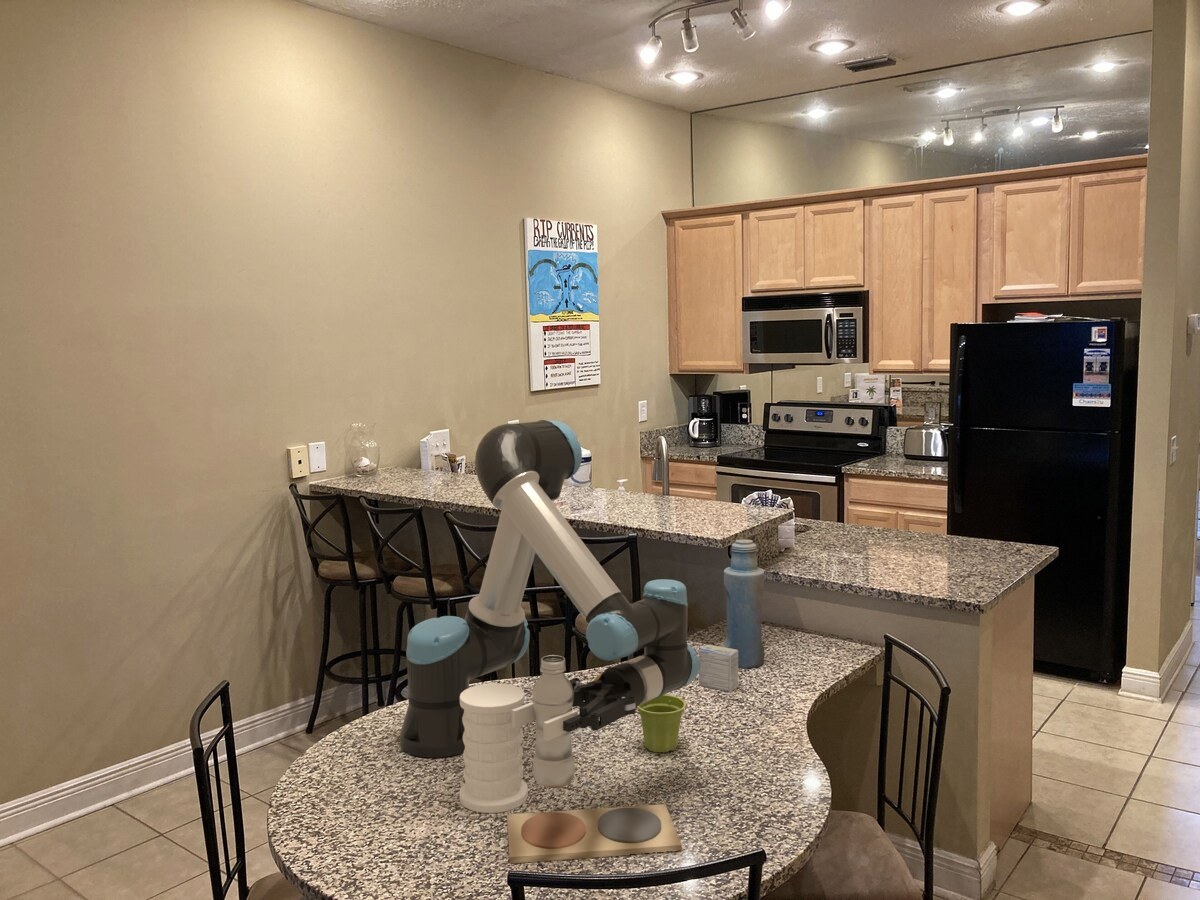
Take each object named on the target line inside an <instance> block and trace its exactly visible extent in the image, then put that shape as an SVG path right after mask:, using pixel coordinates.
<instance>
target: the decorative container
mask: <svg viewBox="0 0 1200 900" xmlns="http://www.w3.org/2000/svg"><path fill="white" fill-rule="evenodd" d="M525 697H526V696H525V691H524V690H523V689H522V688H521V687H518V686H516V685H512V684H508V683H501V682H500V683H499V682H498V683H496V682H495V683H483V684H478V685H474V686H469V688H468V689H466V690H464V691H463V692H462V693H461V694H460V706H461V707H462V708H463V709H464V714H463V717H462V721H463V725H464V728H465V731H464V733H463V742H464V745H465V749H464V752H463V753H462V759H463V761H464V762H463V763H464V768H463V773H462V774H463V775H462V776H463V780H464V782H465V783H463V785H461V787H460V789H459V802H460V804H461V805H462V806H463V807H464V808H466V809H468V810H470V811H472V812H476V813H481V814H482V813H483V814H498V813H505V812H508V811H511V810H514V809H517V808H519V807H520V806H521V805H523V804H525V802H526V801H527V799H528V795H529V791H528V790H529V787H528V784H527V783H526V782H525V780H523V774H524V768H523V764H522V760H523V756H524V750H523V746H522V742H523V737H524V734H523V729H522V726H520V727H517V728H513V727H512V710H513V709H515V708H518V707H521V706H523V705H525Z"/></svg>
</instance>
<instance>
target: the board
mask: <svg viewBox="0 0 1200 900" xmlns="http://www.w3.org/2000/svg"><path fill="white" fill-rule="evenodd" d="M506 822H507V823H506V824H507V836H508V837H507V840H508V854H509V855H508V856H509V864H520V863H521V864H522V863H535V862H550V861H551V862H552V861H563V860H565V861H566V860H577V859H580V860H581V859H591V858H592V859H593V858H594V859H595V858H607V857H619V856H631V855H630V854H636V855H642V854H641V853H650V854H654V853H653V852H656V853H655V854H658V853H657V852H664V853H667V852H666V851H674V850H676V851H677V850H682V851H683V844H682V841H681V840H680V837H679V835H678V832H677V829H676V828H675V825H674V823H673V820H672V817H671V814H670V812H669V811H668V808H667V806H666V803H662V804H661V803H660V804H659V803H658V804H647V805H633V806H632V805H629V806H615V807H600V808H585V809H572V810H571V809H570V810H555V811H554V810H553V811H552V810H551V811H540V812H524V813H523V812H522V813H510V814H509V813H507V814H506Z"/></svg>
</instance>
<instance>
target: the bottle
mask: <svg viewBox="0 0 1200 900" xmlns="http://www.w3.org/2000/svg"><path fill="white" fill-rule="evenodd" d="M757 550H758V548H757V544H756V543H754V541H753V540H752V539H736V540H735V541H734V543H732V544H731V558H730V566H728V567H726V568H725V569H724V570H723V586H724V588H725V592H726V625H725V627H726V633H725V634H726V635H725V637H724V638H725V639H724V642H723V647H725V648H731V649H736V650H738V669H753V668H759V667H760V666H762V665H763V664H764V661H765V647H764V645H763V640H762V639H763V638H762V634H763V633H762V619H763V618H762V611H763V610H762V605H763V604H762V600H763V594H764V590H765V570H764V569H763V568H761V567H759V566H758V558H757Z"/></svg>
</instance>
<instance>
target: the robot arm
mask: <svg viewBox="0 0 1200 900" xmlns="http://www.w3.org/2000/svg"><path fill="white" fill-rule="evenodd" d="M582 452H583V451H582V446H581V443H580V441H579V440H578V436H577V434H576V433H575V431H574V430H573V429H572V428H571V426H569V425H568V424H566V423H564V422H562V421H559V420H549V419H541V420H537V421H530V422H529V421H527V422H518V423H505V424H501V425H497V426H495V427H493V428H491V429H490V430H489V431H488V432H486V434H484V435H483V436H482V439H481V440H480V442H479V444H478V445H477V448H476V452H475V456H474V457H475V459H474V466H475V472H476V477H477V480H478V482H479V485H480V487H481V489H482V491H483V492H484V494H485V495H486V497H487V499H488V501H490V503H491V504H492V505H493V507H494V508H495V509H497V510H501V512H500V515H499V519H498V523H497V527H496V529H495V530H496V531H495V534H494V536H493V537H494V538H493V540H492V541H493V542H492V545H491V548H490V552H489V557H488V560H487V563H486V567H485V571H484V575H483V579H482V583H481V586H480V591H479V594H478V595H476V596H473V597H472V598H471V599H470V600H469V602H468V606H467V610H466V613H465V617H464V618H463V617H459V616H454V615H443V616H440V617H432V618H428V619H425V620H423V621H421V622H419V623H417V624H415V625H414V626H413V627H412V628H411V629H410V630H409V632H408V634H407V642H406V643H407V645H406V646H407V647H406V650H405V653H406V663H407V665H406V666H407V668H406V669H407V693H408V697H407V699H408V705H407V709H406V712H405V715H404V719H403V722H402V726H401V729H400V733H399V742H400V743H399V744H400V748H401V749H402V750H403V751H404V752H405V753H407V754H409V755H412V756H415V757H421V758H431V759H432V758H433V759H435V758H447V757H451V756H456V755H460V754H463V753H464V749H465V745H464V742H463V733H464V731H465V728H464V725H463V721H462V717H463V714H464V709H463V708H462V707H461V706H460V694H461V693H462V692H463V691H464V690H466V689H468V688H470V681H472V680H474V679H476V678H479V677H481V676H485V675H487V674H490V673H492V672H495V671H496V672H497V671H499V670H502V669H505V668H507V667H509V666H511V665H512V664H514V663H516V662H517V661H519V660H520V659H521V658H522V657H523V656H524V655H525V653H526V651H527V649H528V647H529V645H530V638H531V636H530V634H531V633H530V632H531V631H530V630H529V629H528V626H529V623H528V621H527V619H526V613H525V610H524V609H523V607H522V606H521V605H522V602H523V598H524V593H525V590H526V587H527V584H528V579H529V576H530V573H531V570H532V566H533V562H534V559H535V555H537V556H538V557H539V559H540V561H541V562H542V563H543V564H544V566H545V567H546V568H547V570H548V571H549V573H550V574H551V575H552V577H553V578H554V579H555V581H556V582H557V583H558V585H559V586H560V587H561V589H562V590H563V591H564V593H565V594H566V595H567V597H568V598H569V599H570V601H571V602H572V604H573V605H574V606H575V608H576V609H577V610H578V612H579V613H580V614H581V616H582V618H583V619H584V620H585V621H586V622H587V624H588V625H587V627H586V629H585V630H586V631H585V639H586V640H587V643H588V644H587V646H588V649H590V652H591V653H592V654H594V656H596V657H597V658H599V659H601V660H602V661H607V662H609V661H615V660H619V659H622V658H625V657H628V656H630V655H632V654H634V653H635V652H637V651H640V650H642V649H644V654H642V655H639V656H636V657H634V658H631V659H629V660H626V661H623V662H620V663H618V664H616V665H614V666H611V667H608V668H606V669H605V670H604V671H602V672H603V673H602V672H601V673H602V675H601V676H600V678H599V679H598V680H596V681H594V680H592V681H588V682H587V683H581V681H580V678H579V677H573V678H571V679H570V680H569V681H570V683H571V684H572V687H573V690H574V699H573V707H572V708H575V707H579V710H576V709H572V711H570V712H567V713H565V714H562V715H560V716H558V717H555V718H553V719H550V720H548V721H545V722H543V731H544V740H545V741H549V740H551V739H554V738H556V737H558V736H561V735H563V734H565V733H567V732H572V731H576V730H577V729H579V728H580V729H587V728H589V727H590V730H591V731H595V732H596V731H598V730H601V729H603V728H605V727H606V726H608V725H610V724H612V723H615V722H616V721H618V720H619V719H622V718H624V717H626V716H630V715H634V714H636V708H637V706H639V705H643V703H645V702H648V701H650V700H652V699H655V698H657V697H660V696H662V695H668V694H670V693H672V692H674V691H678V690H680V689H682V688H684V687H686V686H687V685H688V684H690V683H692V682H693V681H695V679H696V678H697V677H698V676H699V668H700V664H699V657H698V656H697V652H696V650H695V649H694V647H692V646H691V645H690V644H689V643H688V611H689V610H688V607H689V603H688V594H687V586H686V585H685V584H684V583H683V582H681V581H680V580H679V581H678V580H675V579H665V578H664V579H662V578H661V579H653V580H649V581H648V582H646V583H645V585H644V587H643V594H642V597H643V599H640V600H638V601H635V602H632V603H630V601H629V600H628V599H627V598H626V596H625V595H624V594H623V592H621V590H620V589H619V588H618V586H617V585H616V583H615V582H614V581H613V580H612V578H611V577H610V576H609V575H608V573H607V572H606V570H605V568H603V566H602V565H601V564H600V562H599V561H598V560H597V559H596V557H595V556H594V555H593V553H592V552H591V551H590V549H589V548H588V547H587V545H586V544H585V543H584V541H583V540H582V539H581V538H580V536H579V535H578V534H577V532H576V531H575V530H574V528H573V527H572V525H571V524H570V523H569V522H568V520H567V519H566V518H565V517H564V515H563V514H562V512H560V510H559V509H558V507H557V506H556V505H555V503H554V502H555V501H556V500H558V499H559V498H560V496H561V492H562V489H563V485H564V481H565V480H569V479H570V478H572V477H573V476H575V475H576V474H577V472H578V471H579V469H580V467H581V465H582V464H581V463H582V459H583V453H582ZM534 721H535V712H534V706H533V701H531V702H529V703H526V704H523V705H522V706H521V707H518V708H515V709H513V710H512V727H513V728H517V727H520V726H521V727H522V726H525V725H527V724H530V723H531V722H534Z"/></svg>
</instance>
